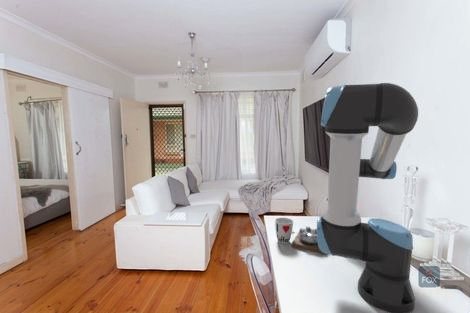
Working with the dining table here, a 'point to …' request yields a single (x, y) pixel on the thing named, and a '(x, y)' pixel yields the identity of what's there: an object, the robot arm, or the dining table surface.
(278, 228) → the cup
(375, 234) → the robot arm
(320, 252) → the base board
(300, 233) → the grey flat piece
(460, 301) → the dining table surface
